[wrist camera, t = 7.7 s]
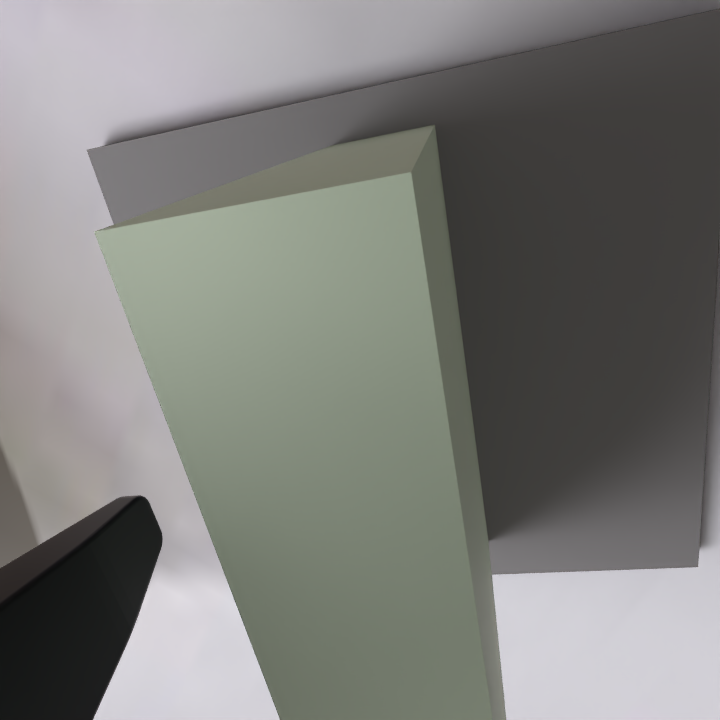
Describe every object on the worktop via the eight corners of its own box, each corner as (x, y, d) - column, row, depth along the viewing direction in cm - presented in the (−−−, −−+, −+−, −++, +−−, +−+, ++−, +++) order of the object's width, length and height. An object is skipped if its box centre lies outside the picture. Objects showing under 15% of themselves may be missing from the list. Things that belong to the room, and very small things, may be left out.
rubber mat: (720, 9, 9) (735, 5, 9) (690, 552, 14) (698, 566, 14) (100, 148, 12) (87, 149, 11) (250, 570, 16) (245, 583, 16)
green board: (434, 124, 10) (412, 171, 3) (488, 540, 14) (533, 993, 7) (331, 146, 11) (94, 232, 3) (411, 544, 15) (378, 977, 7)
